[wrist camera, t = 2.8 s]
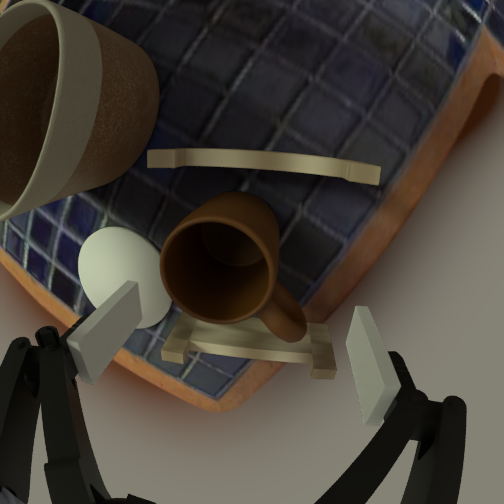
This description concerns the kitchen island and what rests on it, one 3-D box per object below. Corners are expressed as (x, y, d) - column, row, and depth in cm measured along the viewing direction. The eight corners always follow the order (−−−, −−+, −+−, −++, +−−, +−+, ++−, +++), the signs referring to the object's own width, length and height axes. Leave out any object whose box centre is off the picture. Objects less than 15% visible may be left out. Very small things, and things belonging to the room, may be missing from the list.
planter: (106, 216, 27) (9, 270, 14) (27, 138, 25) (-63, 153, 12) (197, 84, 22) (115, 34, 9) (94, 20, 19) (7, -16, 7)
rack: (184, 318, 30) (162, 359, 24) (181, 147, 24) (147, 150, 17) (325, 332, 29) (333, 379, 23) (354, 160, 23) (380, 167, 16)
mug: (329, 264, 26) (349, 321, 18) (271, 313, 29) (265, 379, 20) (235, 171, 24) (208, 185, 16) (180, 230, 27) (135, 272, 18)
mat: (91, 315, 32) (88, 318, 31) (74, 223, 28) (71, 224, 27) (177, 333, 31) (175, 336, 30) (171, 230, 27) (168, 232, 26)
